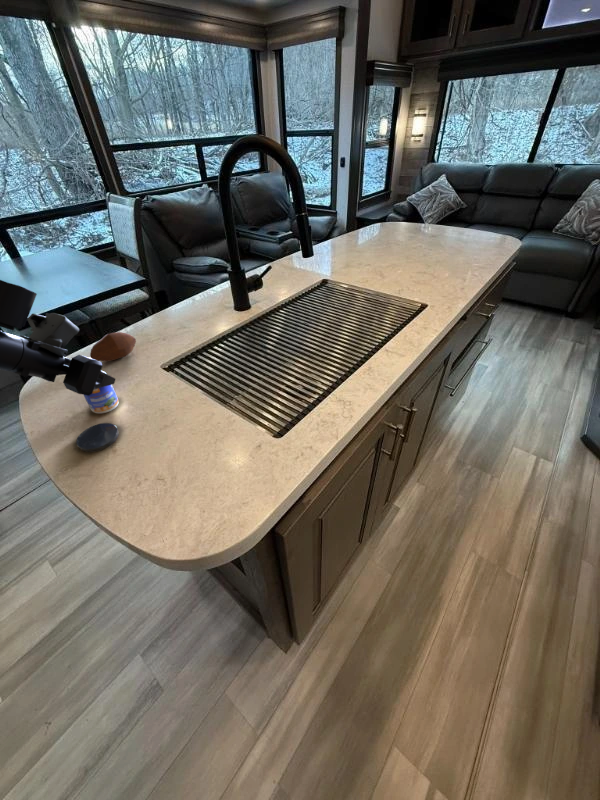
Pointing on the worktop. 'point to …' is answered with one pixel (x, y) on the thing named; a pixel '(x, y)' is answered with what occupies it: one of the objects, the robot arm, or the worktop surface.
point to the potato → (113, 347)
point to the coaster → (97, 437)
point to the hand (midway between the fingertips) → (99, 375)
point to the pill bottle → (102, 399)
